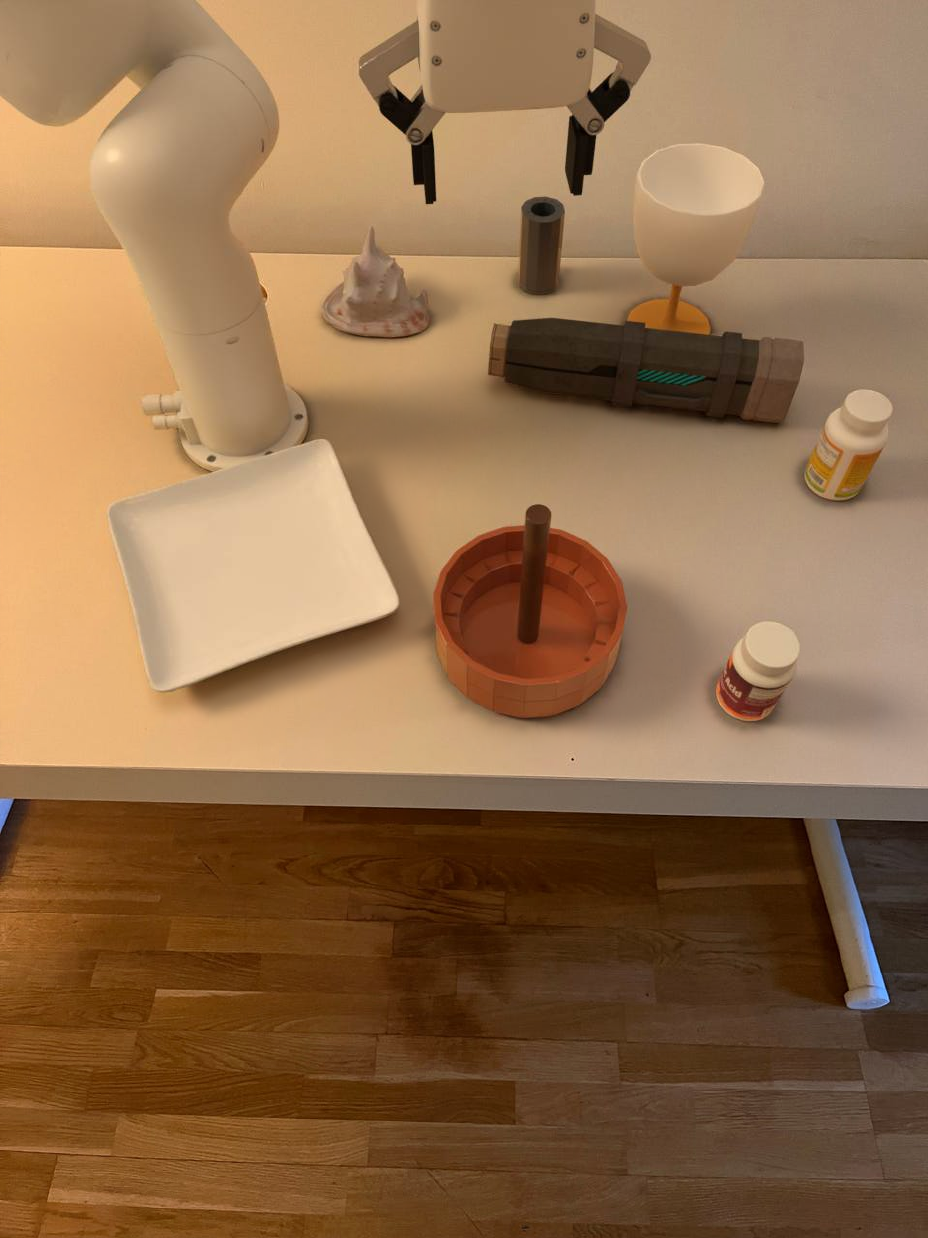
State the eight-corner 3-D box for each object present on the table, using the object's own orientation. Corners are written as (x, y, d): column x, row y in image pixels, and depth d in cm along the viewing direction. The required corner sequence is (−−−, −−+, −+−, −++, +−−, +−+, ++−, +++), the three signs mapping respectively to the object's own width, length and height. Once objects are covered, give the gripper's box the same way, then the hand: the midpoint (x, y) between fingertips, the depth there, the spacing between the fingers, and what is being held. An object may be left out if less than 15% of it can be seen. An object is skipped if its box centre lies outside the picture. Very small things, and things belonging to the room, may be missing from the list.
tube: (500, 372, 98) (790, 376, 92) (492, 426, 96) (789, 434, 90) (485, 306, 88) (810, 306, 82) (476, 364, 86) (808, 369, 80)
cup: (616, 288, 101) (639, 138, 87) (722, 296, 100) (763, 146, 86) (610, 359, 95) (634, 210, 81) (723, 369, 94) (768, 220, 80)
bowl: (443, 727, 72) (440, 692, 67) (431, 573, 80) (428, 531, 75) (631, 712, 73) (642, 676, 68) (600, 561, 81) (608, 518, 76)
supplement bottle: (866, 469, 86) (907, 393, 78) (854, 509, 84) (895, 434, 76) (810, 452, 88) (844, 375, 80) (796, 491, 85) (830, 415, 77)
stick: (517, 644, 76) (526, 524, 62) (516, 626, 77) (524, 504, 63) (538, 644, 76) (552, 523, 62) (537, 625, 77) (550, 503, 63)
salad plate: (163, 714, 73) (150, 694, 70) (114, 525, 84) (101, 501, 81) (408, 628, 77) (405, 606, 74) (332, 458, 88) (327, 433, 85)
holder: (520, 296, 101) (524, 222, 93) (516, 270, 103) (519, 197, 96) (560, 293, 101) (567, 220, 94) (555, 268, 104) (561, 194, 96)
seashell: (346, 271, 104) (335, 195, 96) (445, 291, 102) (443, 214, 94) (312, 328, 98) (298, 252, 91) (416, 349, 96) (411, 274, 89)
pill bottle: (708, 673, 75) (732, 618, 68) (765, 669, 75) (795, 613, 68) (722, 725, 72) (749, 674, 65) (781, 720, 72) (814, 668, 65)
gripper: (662, -165, 48) (620, 149, 63) (338, -150, 48) (370, 163, 62) (693, -108, 44) (640, 213, 59) (339, -91, 44) (373, 229, 58)
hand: (501, 187), depth 60 cm, fingers open, 9 cm apart
